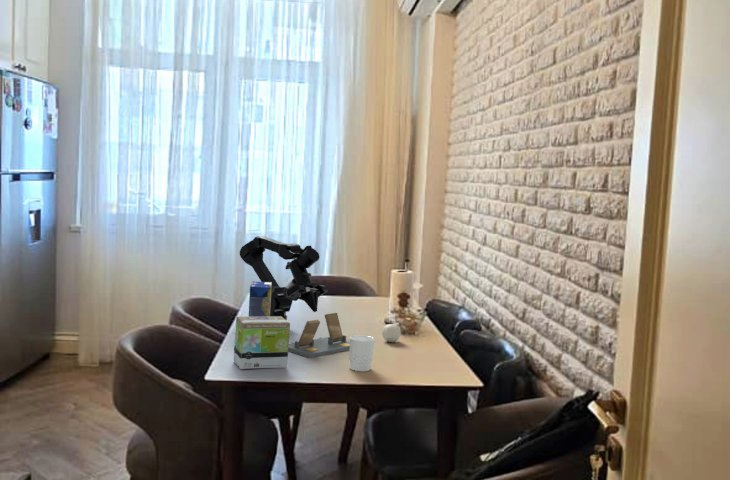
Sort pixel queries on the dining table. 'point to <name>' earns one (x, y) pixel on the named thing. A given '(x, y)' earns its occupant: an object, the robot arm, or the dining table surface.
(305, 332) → the lever
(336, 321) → the lever
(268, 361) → the tea box
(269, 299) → the beverage box
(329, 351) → the twin lever plate
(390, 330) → the baseball
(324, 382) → the dining table surface
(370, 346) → the white cup
